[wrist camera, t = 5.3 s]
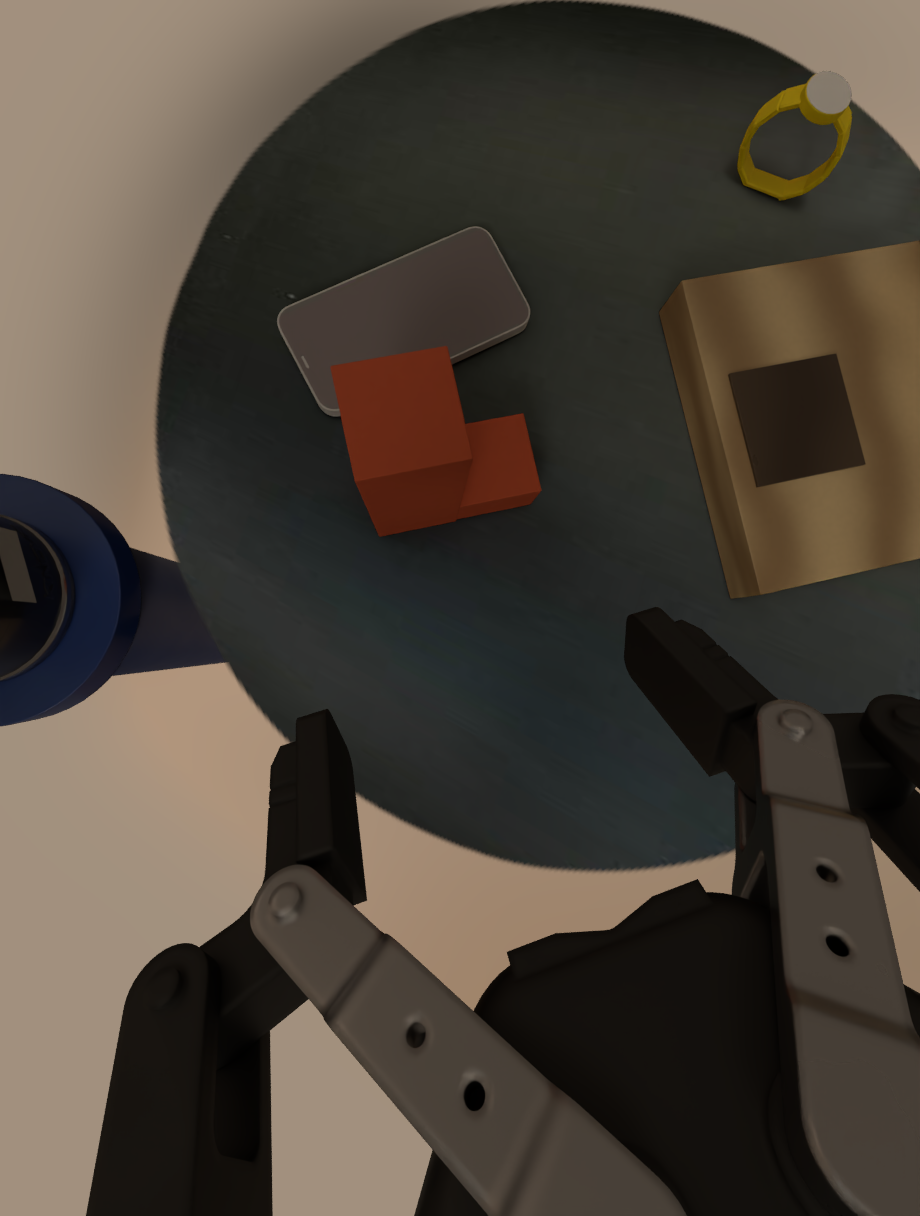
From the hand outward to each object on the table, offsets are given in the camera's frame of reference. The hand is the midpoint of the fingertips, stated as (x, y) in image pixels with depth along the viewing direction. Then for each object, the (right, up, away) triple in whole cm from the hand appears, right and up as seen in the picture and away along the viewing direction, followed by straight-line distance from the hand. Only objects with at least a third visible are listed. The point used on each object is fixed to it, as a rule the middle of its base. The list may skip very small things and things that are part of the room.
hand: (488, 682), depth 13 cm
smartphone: (-4, +20, +19) cm, 28 cm away
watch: (+20, +32, +22) cm, 44 cm away
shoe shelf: (+24, +14, +21) cm, 35 cm away
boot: (-1, +10, +19) cm, 21 cm away
